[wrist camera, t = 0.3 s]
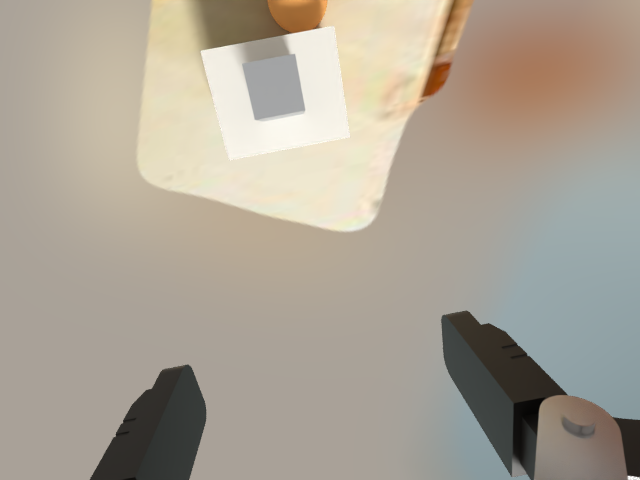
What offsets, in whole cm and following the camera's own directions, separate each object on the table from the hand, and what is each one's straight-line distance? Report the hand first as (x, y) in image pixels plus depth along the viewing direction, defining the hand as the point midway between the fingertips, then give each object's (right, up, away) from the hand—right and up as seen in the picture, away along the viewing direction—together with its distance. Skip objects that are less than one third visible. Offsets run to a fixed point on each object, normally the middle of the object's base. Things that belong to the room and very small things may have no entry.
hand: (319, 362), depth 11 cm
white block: (-4, +17, +23) cm, 28 cm away
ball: (-2, +24, +18) cm, 30 cm away
